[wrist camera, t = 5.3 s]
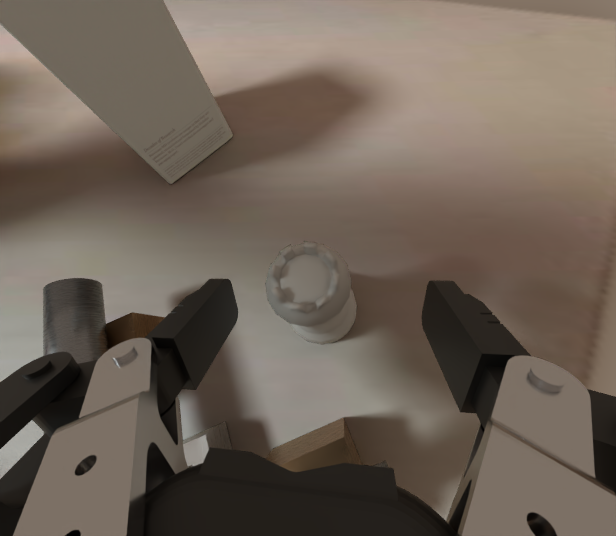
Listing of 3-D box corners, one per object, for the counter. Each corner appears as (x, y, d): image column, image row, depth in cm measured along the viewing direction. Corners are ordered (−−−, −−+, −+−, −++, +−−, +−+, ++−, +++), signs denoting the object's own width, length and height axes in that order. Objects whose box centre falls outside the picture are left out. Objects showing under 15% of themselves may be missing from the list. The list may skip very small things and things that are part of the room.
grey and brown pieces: (79, 325, 18) (-28, 317, 12) (288, 233, 18) (266, 187, 12) (101, 703, 11) (-100, 1005, 6) (429, 557, 11) (503, 736, 6)
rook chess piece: (303, 355, 15) (263, 368, 7) (279, 292, 16) (225, 246, 9) (368, 327, 15) (397, 309, 7) (338, 266, 16) (336, 198, 9)
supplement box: (236, 136, 21) (103, -126, 9) (170, 187, 21) (-67, -30, 9) (195, 99, 24) (47, -149, 12) (135, 143, 23) (-90, -75, 11)
